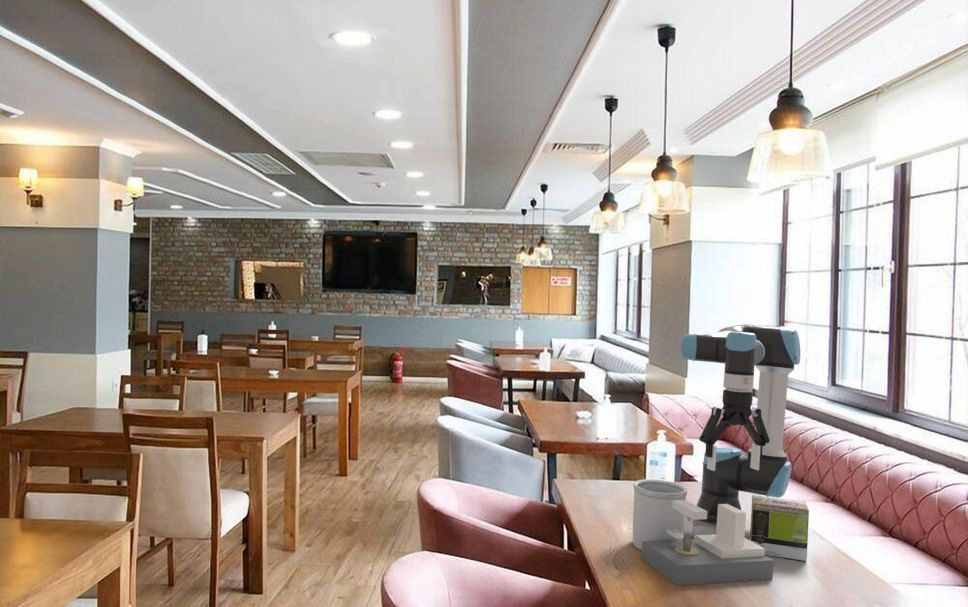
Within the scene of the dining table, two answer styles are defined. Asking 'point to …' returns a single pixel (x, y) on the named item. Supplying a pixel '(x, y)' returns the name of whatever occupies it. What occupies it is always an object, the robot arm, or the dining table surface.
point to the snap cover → (730, 535)
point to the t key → (687, 521)
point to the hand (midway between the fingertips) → (732, 469)
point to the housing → (702, 564)
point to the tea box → (780, 527)
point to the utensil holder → (656, 510)
